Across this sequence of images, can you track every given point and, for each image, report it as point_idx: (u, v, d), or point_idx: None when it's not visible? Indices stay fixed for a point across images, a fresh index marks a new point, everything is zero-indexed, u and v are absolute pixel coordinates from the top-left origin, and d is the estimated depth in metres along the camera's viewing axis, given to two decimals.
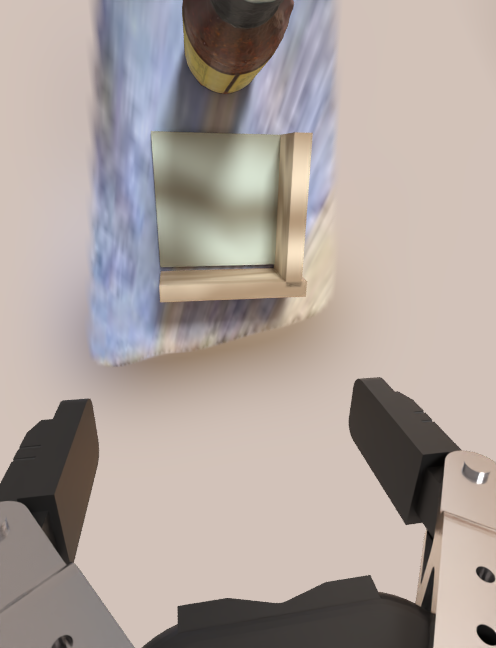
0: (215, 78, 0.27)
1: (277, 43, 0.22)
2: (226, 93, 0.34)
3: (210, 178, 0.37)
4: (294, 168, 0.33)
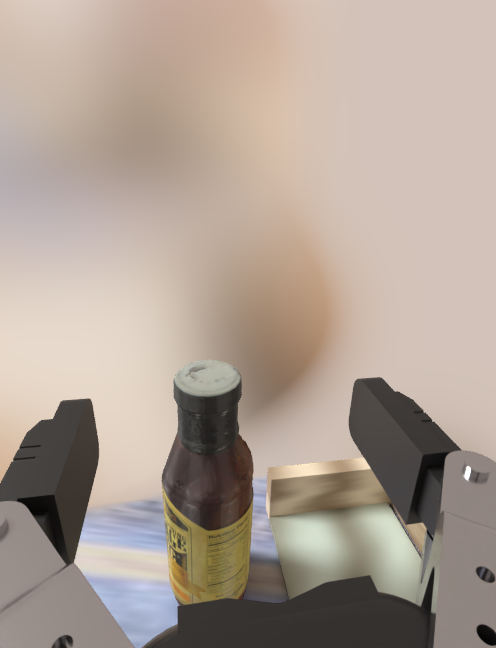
0: (251, 525, 0.28)
1: None
2: None
3: (331, 577, 0.32)
4: (300, 474, 0.36)
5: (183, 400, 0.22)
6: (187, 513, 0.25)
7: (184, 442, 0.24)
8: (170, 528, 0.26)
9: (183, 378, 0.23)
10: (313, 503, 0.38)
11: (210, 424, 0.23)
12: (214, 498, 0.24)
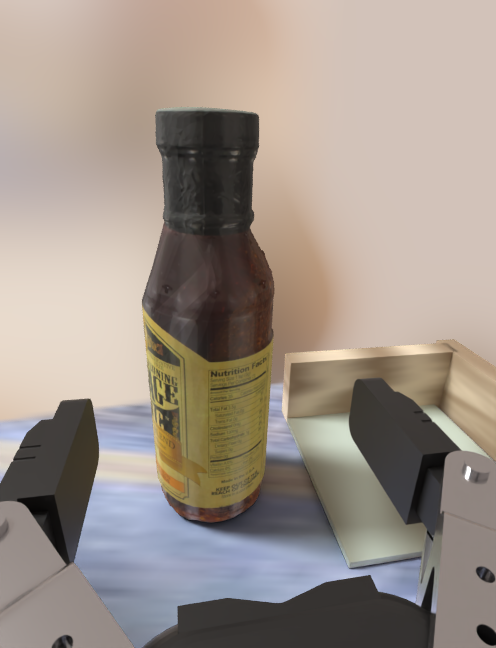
0: (270, 383, 0.20)
1: None
2: None
3: (375, 476, 0.24)
4: (327, 359, 0.28)
5: (170, 128, 0.14)
6: (178, 332, 0.16)
7: (172, 218, 0.16)
8: (155, 373, 0.18)
9: None
10: (343, 401, 0.30)
11: (212, 173, 0.15)
12: (219, 302, 0.16)
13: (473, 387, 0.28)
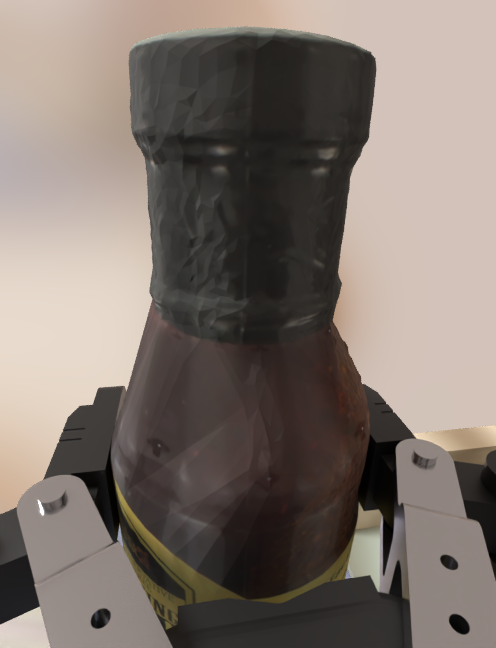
0: None
1: None
2: None
3: None
4: None
5: (162, 89, 0.05)
6: (182, 544, 0.07)
7: (170, 301, 0.07)
8: None
9: None
10: None
11: (268, 204, 0.06)
12: (276, 497, 0.07)
13: None
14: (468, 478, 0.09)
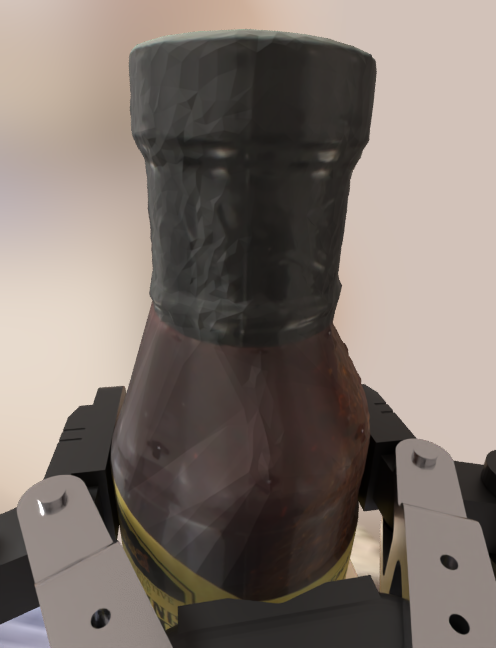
0: None
1: None
2: None
3: None
4: None
5: (162, 92, 0.05)
6: (181, 547, 0.07)
7: (169, 303, 0.07)
8: None
9: None
10: None
11: (267, 207, 0.06)
12: (275, 500, 0.07)
13: None
14: (468, 478, 0.09)
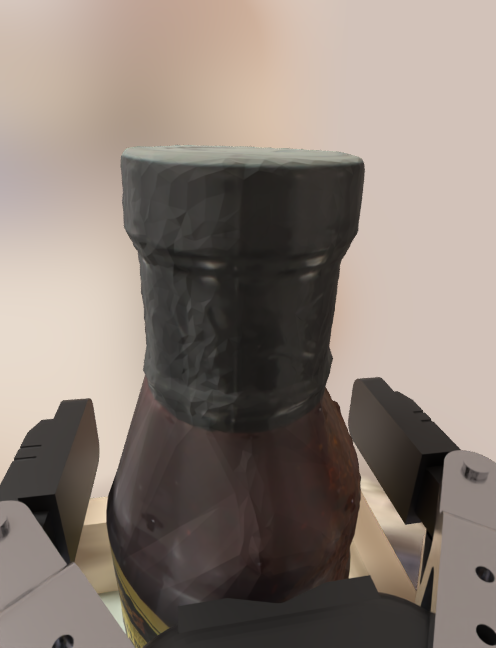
0: None
1: None
2: None
3: None
4: None
5: (152, 205, 0.06)
6: (175, 617, 0.08)
7: (163, 388, 0.07)
8: (132, 639, 0.10)
9: (155, 149, 0.06)
10: None
11: (257, 310, 0.06)
12: (266, 580, 0.07)
13: (351, 566, 0.17)
14: None
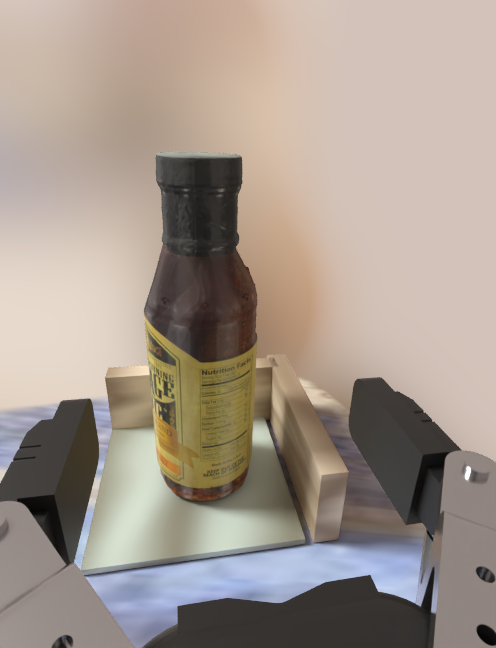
0: (254, 381, 0.23)
1: None
2: None
3: (159, 487, 0.26)
4: (143, 374, 0.30)
5: (167, 171, 0.17)
6: (174, 337, 0.20)
7: (170, 242, 0.19)
8: (155, 371, 0.21)
9: None
10: None
11: (202, 206, 0.18)
12: (208, 312, 0.19)
13: (279, 401, 0.29)
14: None
